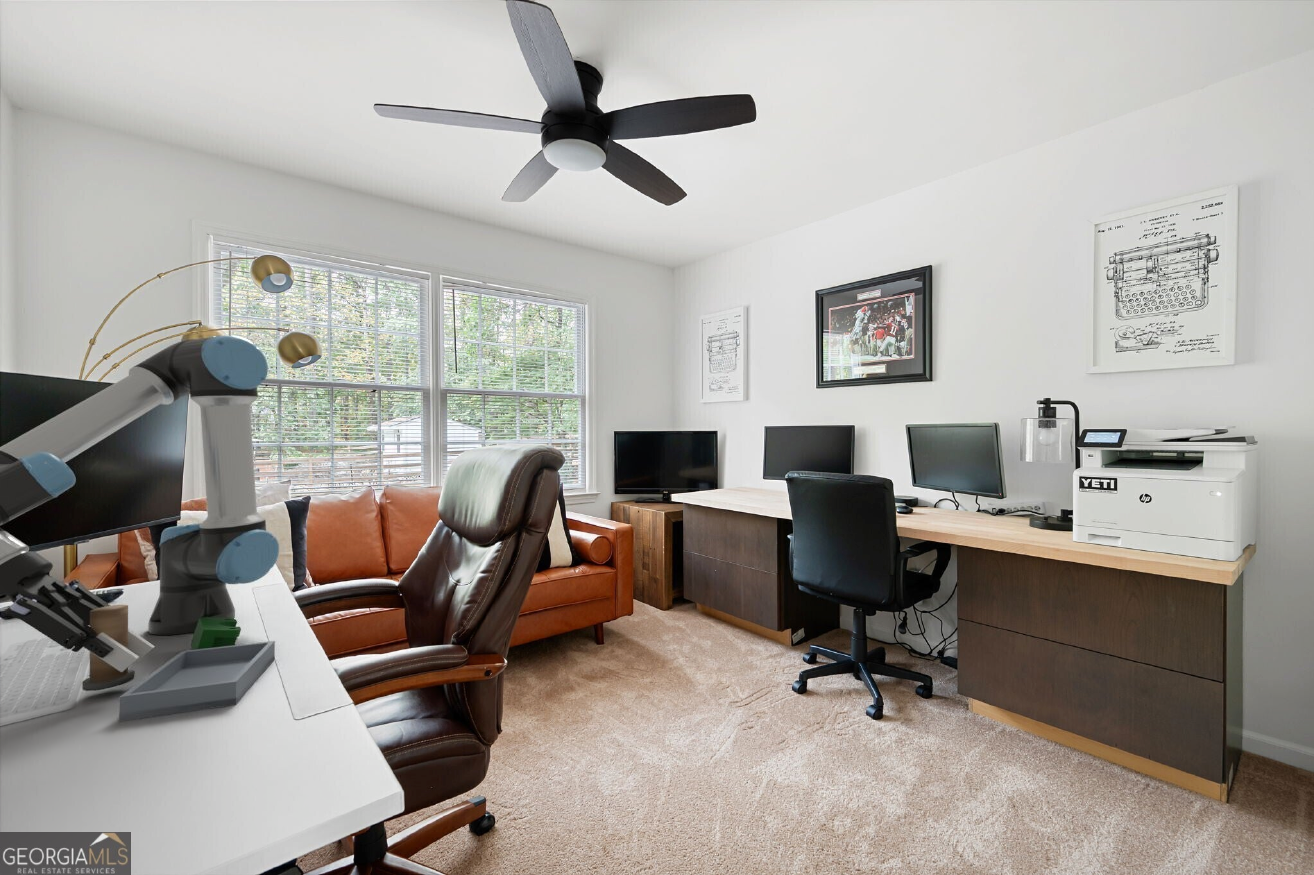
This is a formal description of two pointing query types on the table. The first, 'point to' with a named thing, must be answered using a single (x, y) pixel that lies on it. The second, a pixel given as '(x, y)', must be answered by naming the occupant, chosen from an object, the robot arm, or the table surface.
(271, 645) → the tray
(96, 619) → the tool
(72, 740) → the table surface
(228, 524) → the robot arm
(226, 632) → the clamp
